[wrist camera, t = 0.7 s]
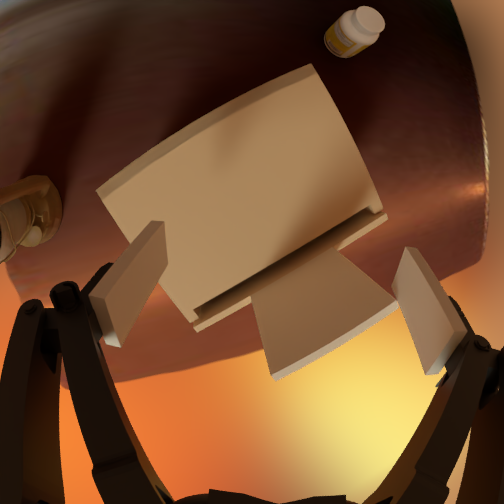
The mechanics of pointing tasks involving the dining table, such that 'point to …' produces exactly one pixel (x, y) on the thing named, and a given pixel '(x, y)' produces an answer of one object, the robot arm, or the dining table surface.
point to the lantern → (28, 213)
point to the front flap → (308, 299)
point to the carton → (244, 186)
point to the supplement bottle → (354, 31)
